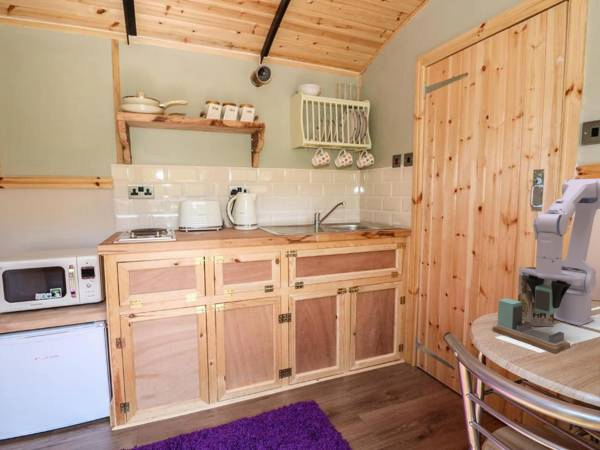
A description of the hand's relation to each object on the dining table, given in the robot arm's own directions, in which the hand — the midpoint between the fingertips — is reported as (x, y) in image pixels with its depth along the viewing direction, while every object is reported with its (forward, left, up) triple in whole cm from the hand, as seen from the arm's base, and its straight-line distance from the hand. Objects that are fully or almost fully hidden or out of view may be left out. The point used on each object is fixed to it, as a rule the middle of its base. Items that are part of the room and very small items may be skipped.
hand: (546, 305), depth 94 cm
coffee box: (-8, -7, -9) cm, 13 cm away
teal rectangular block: (0, 0, -2) cm, 2 cm away
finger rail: (+7, 0, -8) cm, 11 cm away
